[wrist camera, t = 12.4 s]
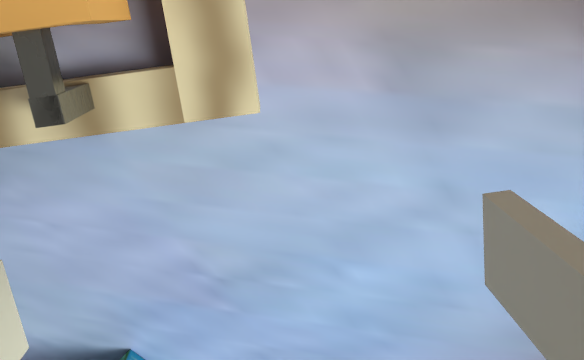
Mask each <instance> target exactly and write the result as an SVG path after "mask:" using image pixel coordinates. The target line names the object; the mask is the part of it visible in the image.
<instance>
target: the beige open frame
mask: <svg viewBox="0 0 584 360" xmlns="http://www.w3.org/2000/svg"><path fill="white" fill-rule="evenodd" d="M162 6H163V11H164V16H165V22H166V27H167V32H168V38H169V43H170V48H171V53H172V59H173V64H174V65H167V66H160V67H152V68H145V69H137V70H130V71H122V72H115V73H108V74H100V75H93V76H85V77H78V78H70V79H63V83H64V86H71V85H78V84H86V83H89V85H90V90H91V94H92V98H93V102H94V107H95V109H93V110H91V111H89V112H87V113H85V114H83V115H81V116H80V117H78V118H76V119H74V120H72V121H70V122H68V123H67V124H63V125H56V126H48V127H41V128H36V127H35V123H34V120H33V116H32V112H31V108H30V105H29V101H28V99H29V95H28V91H27V87H26V85H18V86H11V87H3V88H0V148H3V147H10V146H17V145H25V144H32V143H40V142H47V141H54V140H62V139H69V138H77V137H84V136H91V135H99V134H106V133H113V132H121V131H128V130H136V129H143V128H150V127H158V126H165V125H173V124H180V123H187V122H195V121H202V120H209V119H217V118H224V117H232V116H239V115H246V114H254V113H260V102H259V95H258V88H257V81H256V74H255V67H254V60H253V54H252V47H251V40H250V33H249V26H248V19H247V12H246V6H245V0H162Z"/></svg>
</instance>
